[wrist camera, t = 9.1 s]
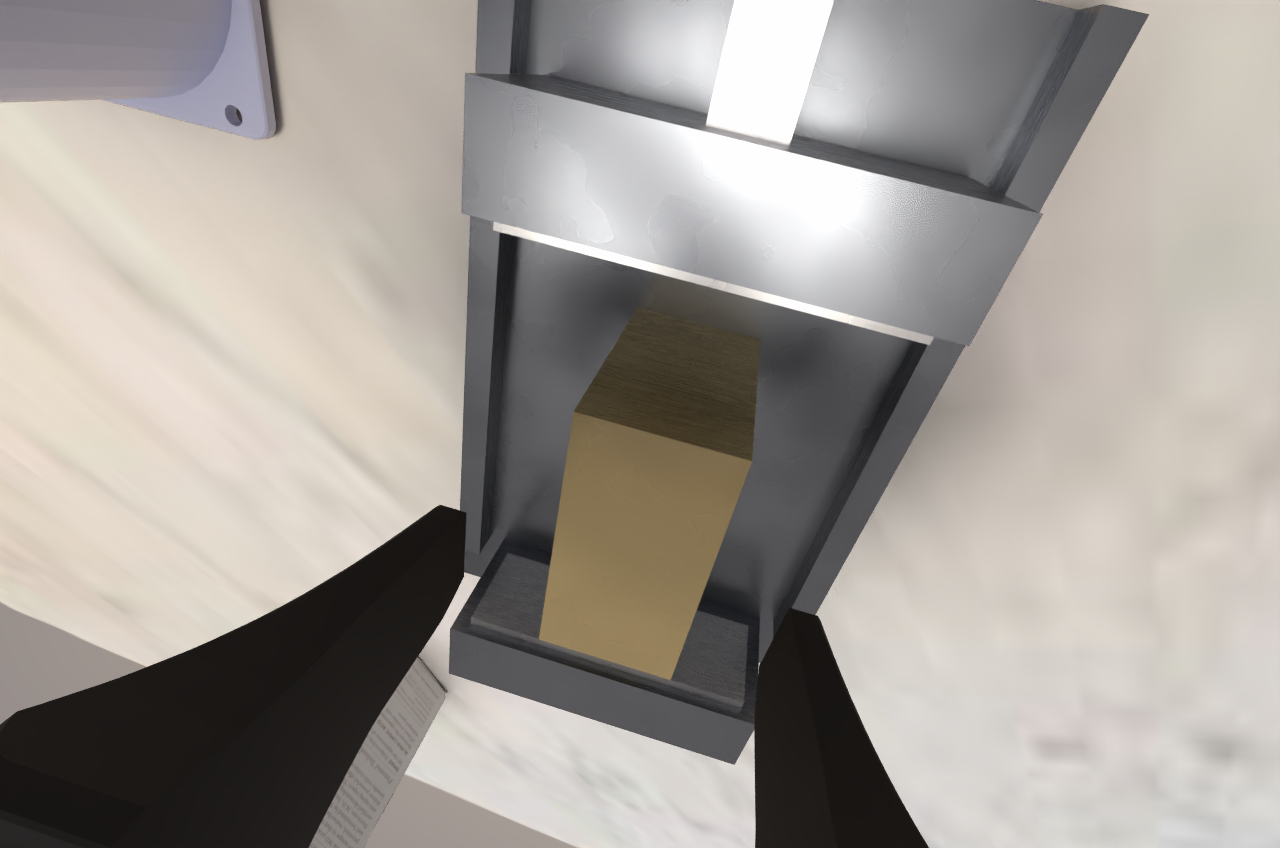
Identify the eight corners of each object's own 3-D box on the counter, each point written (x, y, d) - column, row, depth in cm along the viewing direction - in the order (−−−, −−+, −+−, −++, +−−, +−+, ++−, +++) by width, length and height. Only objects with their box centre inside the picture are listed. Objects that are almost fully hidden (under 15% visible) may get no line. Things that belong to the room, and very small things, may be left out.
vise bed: (475, 554, 24) (408, 660, 20) (513, -106, 13) (375, -202, 8) (778, 647, 23) (778, 778, 19) (1106, 25, 12) (1296, -6, 8)
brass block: (599, 496, 20) (538, 639, 15) (637, 307, 16) (573, 411, 11) (698, 525, 20) (670, 680, 15) (760, 339, 16) (752, 461, 11)
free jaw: (532, 194, 15) (461, 228, 12) (575, -281, 10) (479, -454, 7) (917, 294, 14) (961, 360, 11) (1139, -169, 10) (1331, -301, 6)
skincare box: (369, 702, 32) (178, 992, 22) (318, 648, 30) (86, 936, 20) (454, 693, 30) (286, 1011, 20) (405, 634, 28) (193, 950, 18)
